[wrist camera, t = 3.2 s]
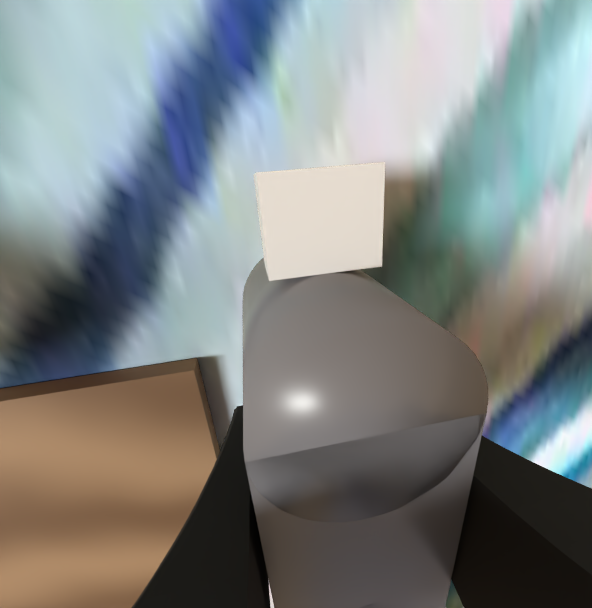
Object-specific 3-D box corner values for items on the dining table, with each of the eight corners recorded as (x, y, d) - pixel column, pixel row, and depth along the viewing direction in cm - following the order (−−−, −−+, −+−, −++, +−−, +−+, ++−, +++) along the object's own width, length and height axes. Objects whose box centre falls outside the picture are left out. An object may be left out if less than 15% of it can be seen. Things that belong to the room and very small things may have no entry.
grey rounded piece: (357, 472, 14) (433, 661, 8) (272, 491, 13) (294, 704, 8) (357, 168, 9) (543, 141, 3) (222, 180, 8) (185, 169, 3)
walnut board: (247, 561, 16) (247, 580, 15) (1, 622, 14) (-12, 645, 14) (196, 357, 11) (193, 370, 10) (-185, 417, 10) (-221, 436, 9)
